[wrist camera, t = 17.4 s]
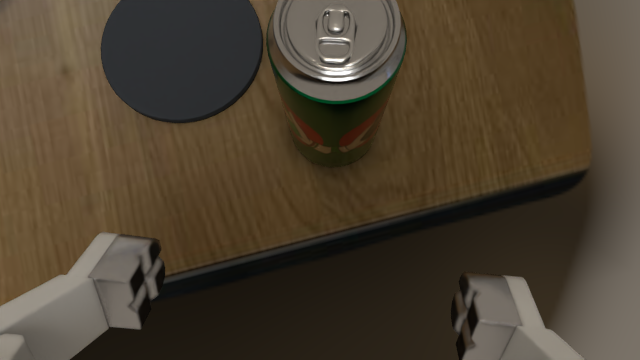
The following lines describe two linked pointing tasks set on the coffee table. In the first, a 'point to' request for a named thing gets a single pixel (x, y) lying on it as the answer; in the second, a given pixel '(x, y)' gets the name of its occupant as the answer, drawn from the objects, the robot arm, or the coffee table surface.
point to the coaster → (181, 55)
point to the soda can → (335, 72)
